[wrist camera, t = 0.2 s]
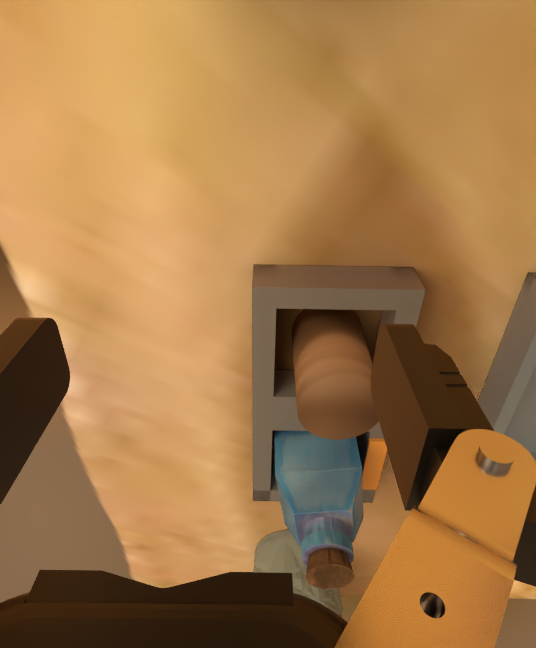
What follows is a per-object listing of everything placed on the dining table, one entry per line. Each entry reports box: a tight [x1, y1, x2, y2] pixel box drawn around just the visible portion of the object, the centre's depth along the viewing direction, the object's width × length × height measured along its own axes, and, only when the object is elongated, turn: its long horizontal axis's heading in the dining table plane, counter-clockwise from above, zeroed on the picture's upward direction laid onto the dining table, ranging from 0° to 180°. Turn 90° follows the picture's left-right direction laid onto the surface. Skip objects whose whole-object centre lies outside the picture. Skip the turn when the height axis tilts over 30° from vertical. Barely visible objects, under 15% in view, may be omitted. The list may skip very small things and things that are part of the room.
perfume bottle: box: [275, 430, 363, 589], centre depth 33 cm, size 6×6×12 cm
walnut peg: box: [292, 309, 379, 440], centre depth 29 cm, size 5×5×8 cm
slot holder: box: [252, 265, 426, 503], centre depth 34 cm, size 22×10×3 cm, turn 179°
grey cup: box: [253, 529, 343, 618], centre depth 44 cm, size 10×10×12 cm
